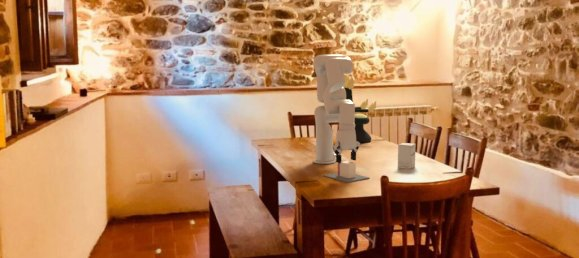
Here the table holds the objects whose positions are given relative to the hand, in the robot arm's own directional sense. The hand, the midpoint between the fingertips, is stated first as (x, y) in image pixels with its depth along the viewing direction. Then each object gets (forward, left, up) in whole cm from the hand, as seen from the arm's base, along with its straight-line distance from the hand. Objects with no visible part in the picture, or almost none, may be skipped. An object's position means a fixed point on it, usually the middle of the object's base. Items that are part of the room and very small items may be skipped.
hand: (346, 161), depth 303 cm
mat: (0, +1, -8) cm, 8 cm away
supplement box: (-42, +2, -8) cm, 43 cm away
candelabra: (-80, -78, -8) cm, 112 cm away
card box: (0, +1, -8) cm, 7 cm away
